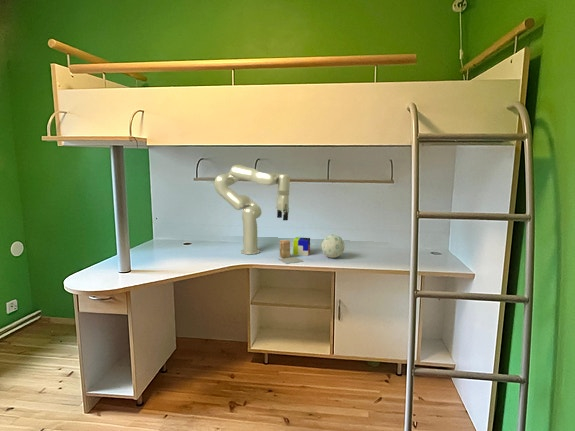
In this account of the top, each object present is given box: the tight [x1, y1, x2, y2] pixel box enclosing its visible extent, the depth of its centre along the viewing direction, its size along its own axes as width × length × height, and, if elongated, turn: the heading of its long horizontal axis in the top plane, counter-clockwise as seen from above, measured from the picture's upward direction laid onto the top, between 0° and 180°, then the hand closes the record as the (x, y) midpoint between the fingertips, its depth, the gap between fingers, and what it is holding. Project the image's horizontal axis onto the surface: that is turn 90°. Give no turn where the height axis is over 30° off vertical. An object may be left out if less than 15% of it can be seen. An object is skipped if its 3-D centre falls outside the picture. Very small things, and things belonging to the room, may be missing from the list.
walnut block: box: [279, 239, 291, 259], centre depth 257 cm, size 5×5×11 cm
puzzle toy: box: [292, 236, 311, 257], centre depth 267 cm, size 10×10×10 cm
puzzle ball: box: [320, 234, 345, 259], centre depth 257 cm, size 15×15×15 cm
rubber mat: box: [278, 256, 305, 265], centre depth 250 cm, size 11×12×1 cm
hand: (282, 218), depth 259 cm, fingers open, 9 cm apart
